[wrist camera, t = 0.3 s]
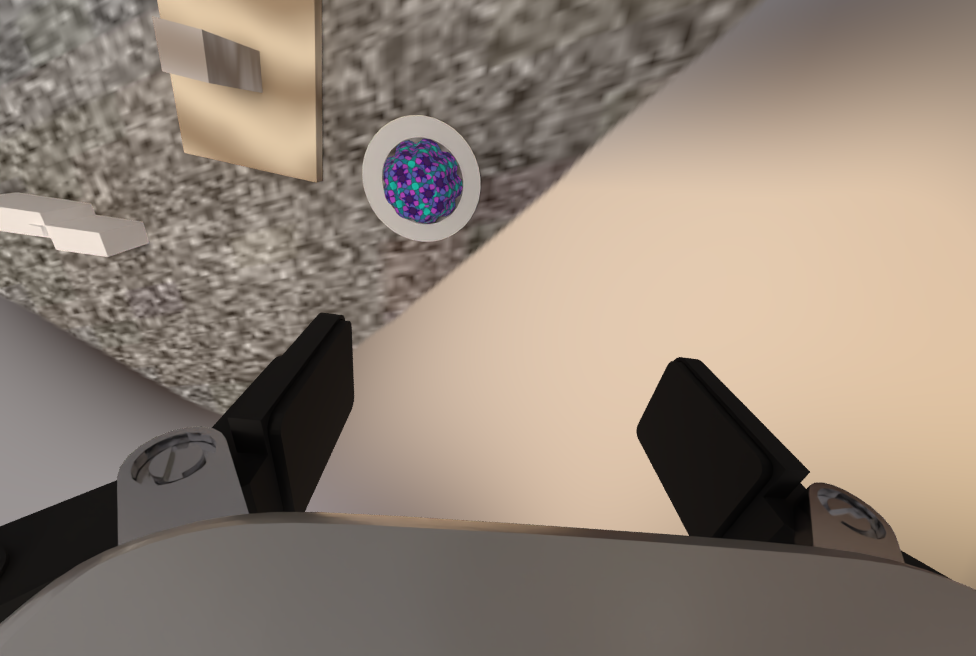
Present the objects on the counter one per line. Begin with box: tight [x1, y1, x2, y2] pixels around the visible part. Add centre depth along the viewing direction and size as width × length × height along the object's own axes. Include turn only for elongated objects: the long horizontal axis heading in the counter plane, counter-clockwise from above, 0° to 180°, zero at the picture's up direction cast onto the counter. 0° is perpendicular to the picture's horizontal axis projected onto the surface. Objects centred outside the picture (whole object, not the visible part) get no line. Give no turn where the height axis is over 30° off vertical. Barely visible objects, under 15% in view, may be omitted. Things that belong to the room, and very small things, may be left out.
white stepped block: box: [0, 192, 149, 257], centre depth 35 cm, size 15×11×6 cm
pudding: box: [362, 115, 480, 242], centre depth 34 cm, size 12×12×5 cm
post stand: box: [152, 0, 323, 183], centre depth 27 cm, size 16×12×8 cm
